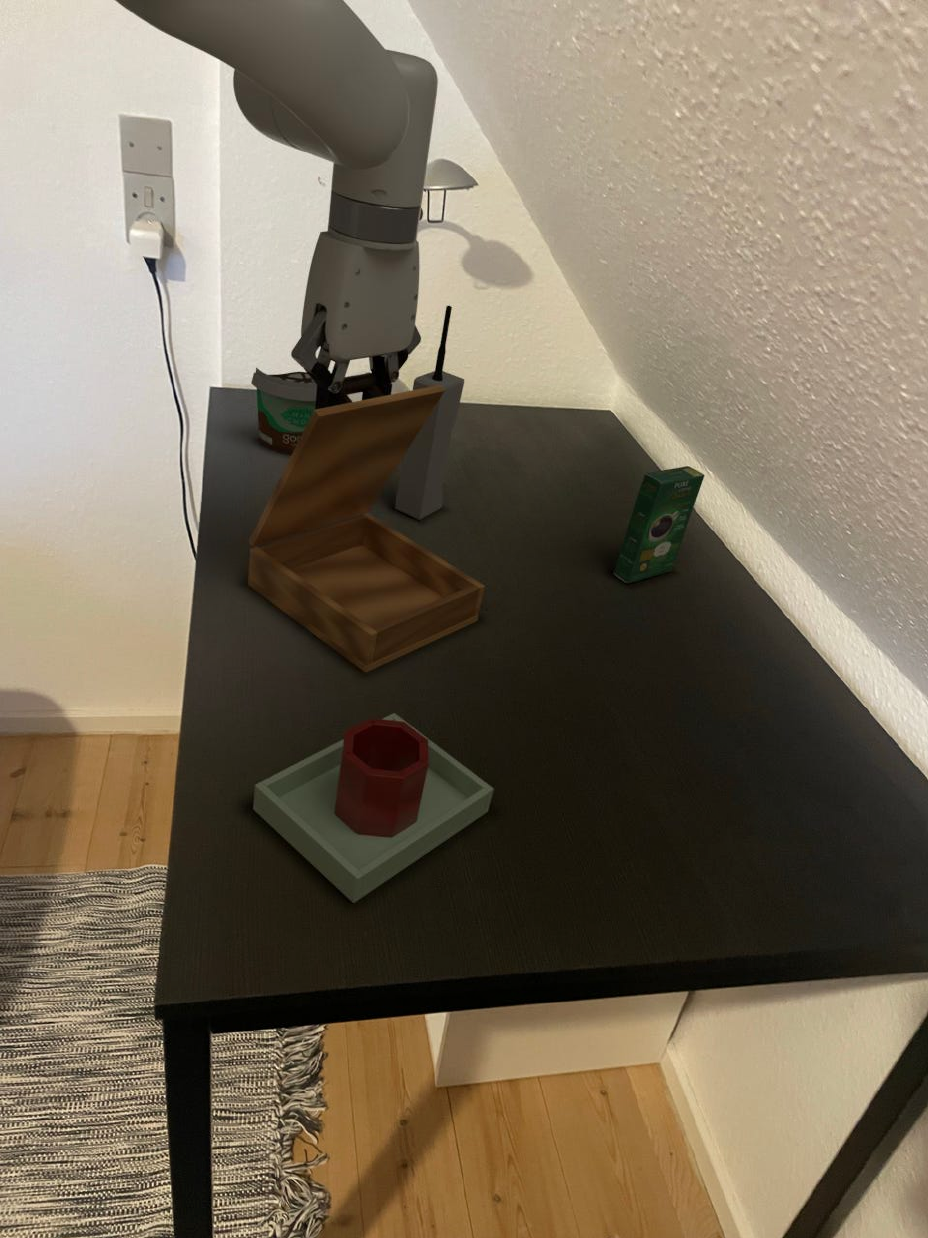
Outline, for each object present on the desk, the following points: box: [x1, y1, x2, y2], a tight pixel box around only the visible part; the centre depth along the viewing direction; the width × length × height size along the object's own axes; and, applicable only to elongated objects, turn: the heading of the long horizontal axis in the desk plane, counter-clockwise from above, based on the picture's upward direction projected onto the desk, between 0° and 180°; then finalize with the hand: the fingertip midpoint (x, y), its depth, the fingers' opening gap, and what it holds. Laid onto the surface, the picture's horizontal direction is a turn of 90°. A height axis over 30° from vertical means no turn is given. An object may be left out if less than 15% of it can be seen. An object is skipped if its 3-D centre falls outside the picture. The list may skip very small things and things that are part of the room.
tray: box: [252, 712, 495, 904], centre depth 71 cm, size 14×11×2 cm
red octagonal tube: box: [335, 717, 429, 837], centre depth 70 cm, size 6×6×6 cm
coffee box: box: [612, 465, 705, 584], centre depth 109 cm, size 8×3×13 cm, turn 127°
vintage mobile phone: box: [394, 305, 465, 521], centre depth 109 cm, size 4×5×25 cm
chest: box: [247, 512, 486, 674], centre depth 95 cm, size 18×16×4 cm
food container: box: [250, 367, 317, 456], centre depth 121 cm, size 12×6×10 cm, turn 117°
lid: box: [248, 372, 445, 548], centre depth 92 cm, size 18×16×5 cm
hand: (351, 421), depth 89 cm, fingers closed on lid, 5 cm apart
